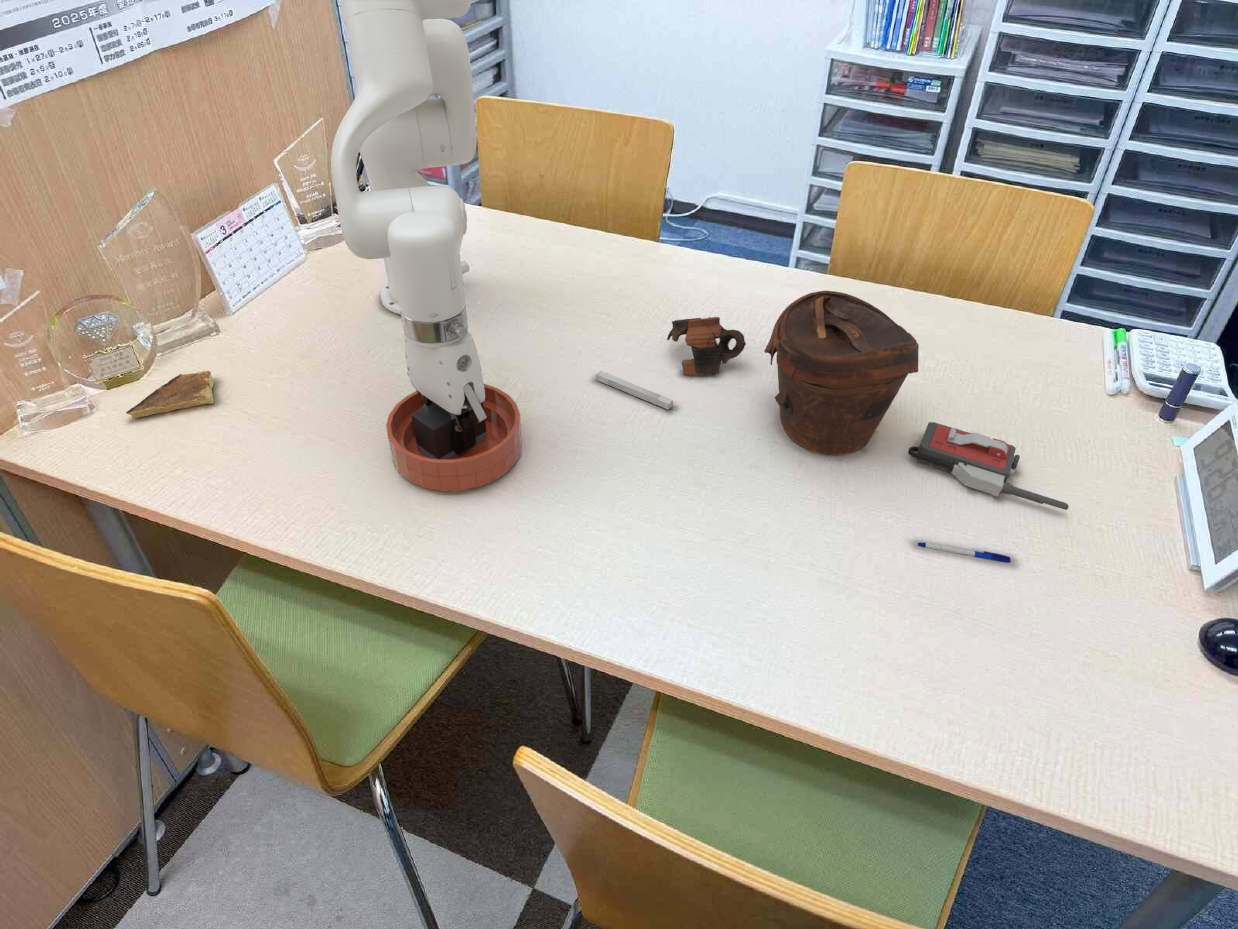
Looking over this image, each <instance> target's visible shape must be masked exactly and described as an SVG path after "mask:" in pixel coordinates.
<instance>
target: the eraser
mask: <svg viewBox="0 0 1238 929" xmlns="http://www.w3.org/2000/svg"><path fill="white" fill-rule="evenodd" d="M480 404H481V406H482V408H483V410H484V405H483V402H482V403H480ZM411 417H412V422H413V428H414V433H415V438H416V444H417V449H418V451H419V452H420V453H422V454H423V455H425V456H426V457H427V458H432V459H438V460H441V459H453V458H455V457H456V456H458V454H456V453H455V452H454V446H453V439H452V432H451V430H452V429H453V428H454V426H453V423H452V419H451V416H450V413H449V412H448V411H446V410H445V409H443V408H442V407H440V406H439V405H437V404H436V403H432V404H430V405H428V406H426V407H424V408H422V409H420V410H419V411H417V412H415V413H413V414H411ZM459 417H460V420H462V419H463V418H465V417H467V416H466V412H465V410H464V411H462V412H461V414H460V415H459ZM474 429H475V437H476V444H475V445H477V444H478V443H480V442H482V441H483V440H485V439H487V433H486V423H485V420H484V421H482V422H480V423H478V424H475V425H474ZM475 445H474V446H475ZM471 448H472V447H471ZM469 449H470V448H469ZM466 451H467V450H466ZM464 452H465V451H464ZM459 455H460V454H459Z"/></svg>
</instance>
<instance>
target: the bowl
mask: <svg viewBox="0 0 1238 929" xmlns="http://www.w3.org/2000/svg"><path fill="white" fill-rule="evenodd" d="M484 389H485V401H484V402H483V405H484V412H485V414H486V416H487V419H485V423H486V433H487V439H485V440H483V441H482V442H480V443H478V444H477V445H475V446H473V447H472V448H470V449H468V450H467V451H465V452H463V453H461V454H460V455H458V456H456V457H455V458H453V459H441V460H438V459H432V458H427V457H426V456H425V455H423V454H422V453H420V452H419V451H418V449H417V444H416V438H415V433H414V428H413V422H412V417H411V414H413V413H415V412H417V411H419V410H420V409H422V408H423V407H422V406H421V397H420V395H419V394H418V392H417V391H416V390H415V391H414V392H411V393H410V394H408V395H406V396H405V397H403V398H402V399H401V400H400V401H399V402H397V404H395V406H394V407H393V409H392V410H391V411H390V413H389V414H388V418H387V420H386V425H385V427H386V434H387V439H388V445H389V449H390V454H391V458H392V463H393V465H394V467H395V468H396V470H397V471H398V473H399V474H400V475H401V476H402V477H403V478H405V479H406V480H408V481H409V482H410V483H412V484H414V485H417V486H419V487H422V488H424V489H429V490H435V491H441V492H451V491H452V492H453V491H456V492H459V491H465V490H470V489H474V488H479V487H481V486H484V485H486V484H490V483H492V482H494V481H496V480H497V479H499V478H500V477H502V476H504V475H505V474H507V473H508V472H509V470H510V469H512V468H513V467H514V465H515V464H516V463H517V461H518V459H519V457H520V455H521V453H522V445H523V438H522V436H523V435H522V424H521V423H522V422H521V413H520V410H519V408H518V405H517V403H516V401H514V399H513V398H512V397H511V396H510V395H509V394H508V393H506V392H504V391H503V390H501V389H500V388H498V387H495V386H492V385H489V384H487V383H484Z"/></svg>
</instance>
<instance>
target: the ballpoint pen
mask: <svg viewBox="0 0 1238 929" xmlns="http://www.w3.org/2000/svg"><path fill="white" fill-rule="evenodd" d="M917 546H919V547H921V548H925V549H931V550H936V551H942V552H947V553H952V554H957V555H958V554H959V555H963V556H969V557H974V558H980V559H984V560H990V561H993V562H994V561H995V562H1000V563H1009V564H1010V563H1011V561H1012V560H1011V557H1010V556H1008V555H1004V554H1000V553H995V552H990V551H986V550H985V551H984V550H983V551H978V550H969V549H963V548H959V547H958V548H957V547H953V546H948V545H947V546H946V545H941V544H936V543H929V542H917Z"/></svg>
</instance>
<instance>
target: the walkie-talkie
mask: <svg viewBox="0 0 1238 929" xmlns="http://www.w3.org/2000/svg"><path fill="white" fill-rule="evenodd" d="M907 453H908V455H909V456H910V457H912V458H914V459H916V461H917V462H918V463H920V464H922V465H926V466H929V467H933V468H935V469H938V470H942V471H945V472H949V473H951V474H952V475H953V476H954V477H955V478H956V479H957V480H958V481H959V482H961V483H962V484H963V485H964V486H965V487H968V488H971V489H975V490H978V491H980V492H984V493H987V494H989V495H991V496H994V497H997V498H998V497H999V495H1000V493H1002V494H1005V495H1008V496H1010V495H1012V496H1014V497H1018V498H1021V499H1024V500H1028V501H1032V502H1034V503H1037V504H1041V505H1043V504H1045V505H1049V506H1051V507H1055V508H1058V509H1061V510H1065V511H1067V510H1068V509H1069V506H1070V505H1069V504H1068V503H1067V502H1065V501H1061V500H1058V499H1056V498H1055V499H1054V498H1051V497H1048V496H1045V495H1041V494H1039V493H1035V492H1032V491H1029V490H1025V489H1023V488H1019V487H1016V486H1015V485H1013V484H1012V483H1011V482H1012V480H1011V479H1010V478H1009V477H1010V476H1011V477H1013V476H1014V474H1015V472H1016V469H1017V466H1018V464H1019V462H1020V458H1021V456H1020V454H1015V453H1016V447H1015V445H1012V444H1009V443H1007V442H1006V441H1004V440H1002V439H998V438H996V437H995V438H992V437H991V436H988V435H986V434H981V433H978V432H973V433H971V432H968V431H965V430H962V429H958V428H956V427H952V426H949V425H945V424H942V423H938V422H936V421H935V422H934V421H928V423H927V425H926V428H925V431H924V434H923V436H922V439H921V441H920V443H919V446H914V445H912V446H910V447H909V448H908V450H907Z"/></svg>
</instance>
